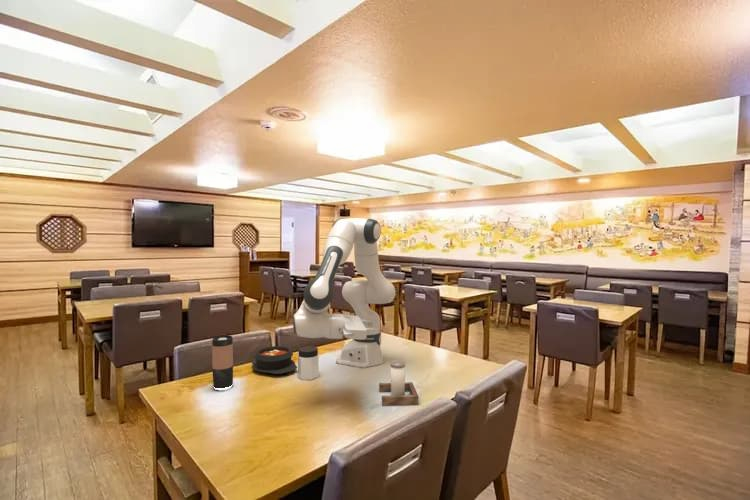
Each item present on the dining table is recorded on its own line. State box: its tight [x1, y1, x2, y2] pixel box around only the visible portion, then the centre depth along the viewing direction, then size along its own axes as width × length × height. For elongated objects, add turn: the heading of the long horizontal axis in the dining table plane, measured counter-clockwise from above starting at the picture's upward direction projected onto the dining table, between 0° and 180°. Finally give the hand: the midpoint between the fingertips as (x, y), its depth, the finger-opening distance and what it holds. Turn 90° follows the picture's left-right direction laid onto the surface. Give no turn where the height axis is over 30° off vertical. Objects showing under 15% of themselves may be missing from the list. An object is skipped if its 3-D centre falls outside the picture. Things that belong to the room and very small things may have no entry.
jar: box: [297, 345, 320, 381], centre depth 159 cm, size 9×8×12 cm
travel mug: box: [211, 334, 234, 388], centre depth 147 cm, size 8×8×20 cm
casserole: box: [251, 345, 298, 375], centre depth 168 cm, size 25×19×8 cm
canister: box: [390, 360, 406, 395], centre depth 138 cm, size 5×5×13 cm
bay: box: [378, 381, 420, 407], centre depth 139 cm, size 13×13×3 cm
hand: (374, 327), depth 138 cm, fingers open, 8 cm apart
